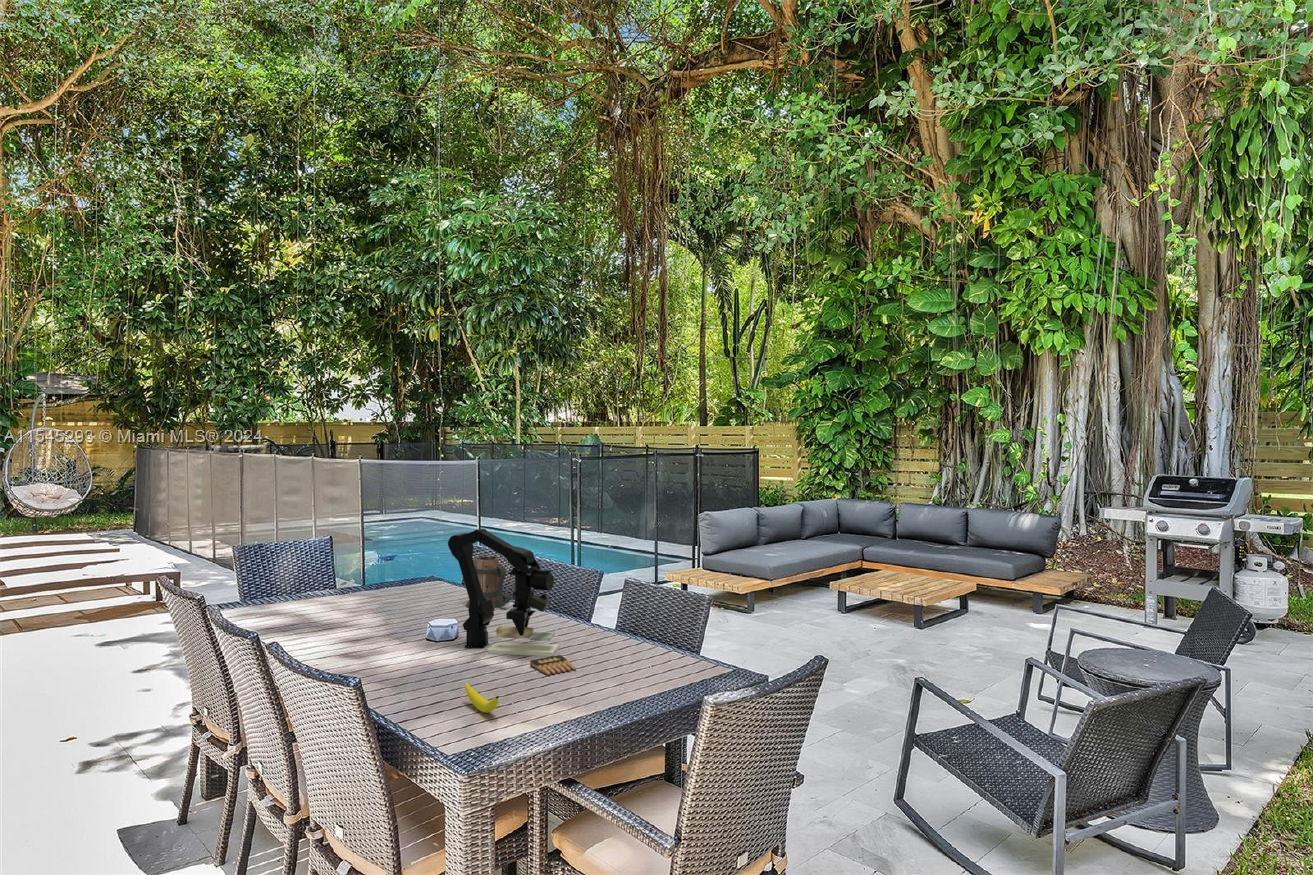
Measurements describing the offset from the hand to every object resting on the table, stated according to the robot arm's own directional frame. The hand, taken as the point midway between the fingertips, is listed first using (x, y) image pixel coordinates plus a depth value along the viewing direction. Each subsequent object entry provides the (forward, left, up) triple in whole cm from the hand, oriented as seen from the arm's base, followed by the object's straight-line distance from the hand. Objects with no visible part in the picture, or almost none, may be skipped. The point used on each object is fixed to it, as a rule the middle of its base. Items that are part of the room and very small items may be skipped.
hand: (522, 634), depth 259 cm
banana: (+4, -54, -6) cm, 54 cm away
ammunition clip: (+11, -13, -4) cm, 17 cm away
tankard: (-32, +61, -6) cm, 69 cm away
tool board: (0, 0, -6) cm, 6 cm away
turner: (+1, 0, -1) cm, 1 cm away
